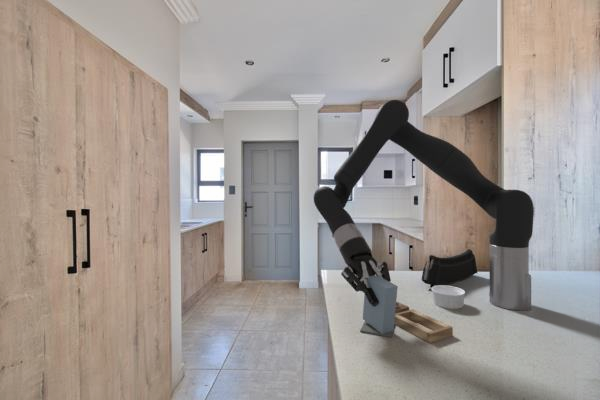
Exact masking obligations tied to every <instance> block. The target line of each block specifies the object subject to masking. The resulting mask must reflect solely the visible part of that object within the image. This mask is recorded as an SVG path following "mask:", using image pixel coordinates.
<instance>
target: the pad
mask: <svg viewBox="0 0 600 400" xmlns="http://www.w3.org/2000/svg"><path fill="white" fill-rule="evenodd" d="M359 332H360V333H364V334H371V335H376V336H382V337H386V338H392V336H393V332H394V330H393V331H391V332H388V333H384V334H381V333H380V332H379V331H377V330H376V329H375V328H374V327H372V326H371V325H370V324H368V323H367V322H366V321H365V320H364V322H363V324H362V326H361V328H360V331H359Z"/></svg>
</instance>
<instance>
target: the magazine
mask: <svg viewBox="0 0 600 400" xmlns="http://www.w3.org/2000/svg"><path fill="white" fill-rule="evenodd" d="M475 274H478V267H477V261H476V256H475V254H474V253H473V250H472V249H469V248H468V249H467V250H465V251H464V252H462V253H460V254H456V255H453V256H448V257H447V256H445V257H439V256H436V255H432V254H430V255H429V256H428V259H427V260H426V263H425V264H424V267H423V268H422V274H421V275H422V276H421V281H422V282H423V283H424V284H426V285H430V286H429V288H430V289H431V288H432V287H433V286H438V285H452V284H455V283H458V282H462V281H463V280H466V279H468V278H470V277H472V276H474V275H475Z"/></svg>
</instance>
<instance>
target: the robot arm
mask: <svg viewBox="0 0 600 400" xmlns="http://www.w3.org/2000/svg"><path fill="white" fill-rule="evenodd" d="M409 117H410V112H409V107H408V106H407V104H406V103H405V102H403V101H401V100H399V99H391V100H388V101H386V102H384V103H383V104H381V106H380V107H379V108H378V110H377V112H376V114H375V117H374V120H373V122H372V124H371V125H370V127H369V128H368V130H367V132H366V134H365V135H364V136H363V138H362V139H361V140H360V142H359V143H358V144H357V146H356V147H355V148H354V149H353V150H352V151H351V153H350V154H349V155H348V157H347V158H346V159H345V160H344V162H342V164H341V166H340V167H339V169H338V170H337V171H336V172H335V174H334V175H333V180H334V183H335V186H334V188H331V187H330V186H324V185H323V186H320V187H318V188H317V189H316V190H315V192H314V195H313V203H314V205H315V207H316V209H317V211H318V212H319V214H320V215H321V216H322V218H323V220H324V221H325V222H326V224H327V226H328V228H329V230H330V232H331V234H332V236H333V238H334V241H335V244H336V246H337V248H338V250H339V253H340V255H341V257H342V258H343V261H344V263H345V264H346V265H347V266H345V268H344V269H343V270H342V271H341V273H340V274H341V276H342V278H344V280H345V281H347V283H348V284H349V285H350V286H351V287H352V288H353V289H354V291H355V292H357V293H358V292H362V293H364V296H365V295H366V297H367V299H368V301H369V303H370V304H372V306H373V307H374V306H377V305H378V304H379V301H378V299H377V297H376V295H375V293H374V291H373V289H372V288H370V287H371V285H370V283H369V281H368V278H369V276H375V275H376V276H380V277H382V278H383V279H385V280H387V281H389V282H391V281H392V279H391V275H390V271H389V266H388V263H387V262H386V261H383V262H382V263H381V262H378V261H377V260H376V258H374V257H373V252H372V249H371V248H370V246H369V244H368V242H367V241H366V238H365V237H364V236H363V234H362V232H361V230H360V229H359V227H358V226H357V225H356V223H355V221H354V219H353V218H352V216H351V215H350V212H348V211H347V210H345V207H346V205H347V203H348V201H349V199H350V197H351V195H352V191H353V190H354V187H355V186H356V185H357V183H358V182H359V181H360V180H361V178H362V177H363V176H364V174H365V173H366V172H367V170H368V169H369V167H371V164H372V162H374V160H375V158H376V157H377V155H378V154H379V152H380V151H381V150H382V148H383V147H384V146H385V145H386V144H387V142H388V141H391V142H392V143H394V144H396V145H397V146H399V147H401V148H403V150H405V151H407V152H408V153H409V154H411V156H412V157H414V158H415V159H416V160H417V161H419V162H420V163H422V165H424V166H426V167H427V168H428V169H429V170H431V172H433V173H434V174H435V175H436V176H438V177H440V178H441V179H442V180H444V181H446V182H447V183H448V184H449V185H451V186H453V187H454V188H456V189H458V190H459V191H461V192H462V193H464V194H465V195H466V196H468V197H469V198H470V199H472V200H473V201H474V202H475V204H477V205H478V206H479V207H480V208H481V209H482V210H483V211H484V212H486V214H488V215H489V216H490V217H491V218H493V219H495V228H494V231H493V232H492V233H491V234H490V235H489V293H488V295H489V303H490V304H492V305H494V306H496V307H500V308H501V309H502V308H503V309H506V310H507V309H508V310H512V311H513V310H515V311H523V310H527V311H529V310H530V311H532V275H531V274H530V270H529V268H530V267H529V265H530V263H529V262H530V254H529V253H530V252H529V251H530V250H529V249H530V248H529V247H530V241H531V238H532V235H533V232H534V231H533V230H534V229H533V228H534V216H535V215H534V208H535V207H534V203H533V200H532V198H531V196H530V195H529V194H528V193H527V192H525V191H523V190H519V189H505V188H503V187H500V186H499V185H497V184H496V183H494V182H493V181H491V180H490V179H488V178H487V177H486V176H485V175H483V174H482V172H481V171H480V169H478V167H477V166H476V164H475V163H474V162H473V161H472V159H471V158H470V157H469V156H468V155H467V154H465V153H464V152H463V151H462V150H461V149H460V148H457V147H456V146H454V144H453V143H450V142H448V141H446V140H445V139H442V138H439V137H436V136H433V135H430V134H428V133H426V132H423V131H422V130H420V129H418V128H417V127H415V126H414V125H413V124H412V123H411V122H409Z"/></svg>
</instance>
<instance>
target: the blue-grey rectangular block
mask: <svg viewBox="0 0 600 400" xmlns="http://www.w3.org/2000/svg"><path fill="white" fill-rule="evenodd" d="M368 281H369V283H370V285H371V287H370V288H372V289H373V291H374V293H375V295H376V297H377V299H378V301H379V304H378V305H377V306H374V307H373V306H372V304H370V303H369V301H368V299H367V297H366V295H365V294H364V295H363V296H364V298H363V309H362V320H363V321H364V322H365V321H366V322H367V323H368V324H370V325H371V326H372V327H374V328H375V329H376V330H377V331H379V332H380V333H381V334H384V333H388V332H391V331H393V332H394V328H395V324H394V320H395V309H396V301H397V299H398V298H397V297H398V288H399V287H398V285H396V284H394V283H392V282H391V281H390V282H389V281H387V280H385V279H383V278H382V277H380V276H376V274H375V276H369V278H368Z"/></svg>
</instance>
